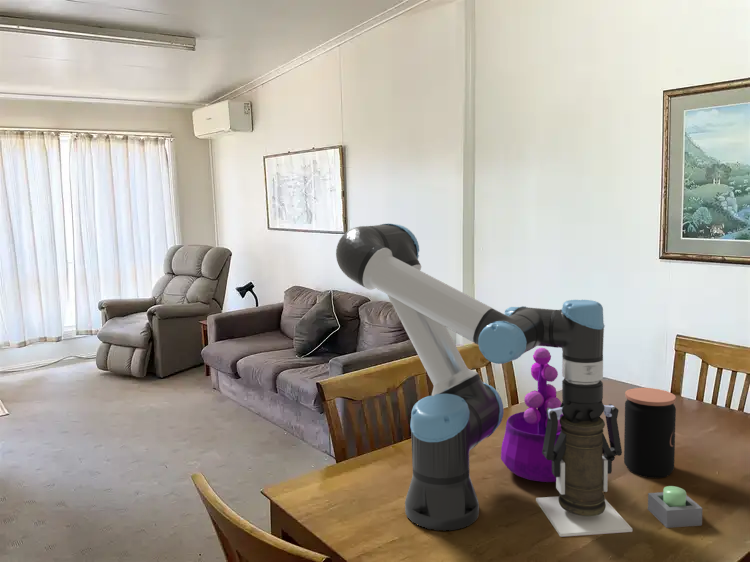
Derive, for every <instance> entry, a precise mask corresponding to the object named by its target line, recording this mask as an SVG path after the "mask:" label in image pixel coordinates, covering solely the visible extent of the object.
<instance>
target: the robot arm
mask: <svg viewBox="0 0 750 562" xmlns="http://www.w3.org/2000/svg"><path fill="white" fill-rule="evenodd" d="M419 253H420V245H419V241H418V240H417V237H416V236H415V234H414V233H413V232H412V231H411V230H410V229H409V228H407V227H406V226H404V225H401V224H396V223H395V224H394V223H383V224H378V225H377V224H376V225H366V226H365V225H362V226H361V225H360V226H355V227H353V228H350V229H349V230H347V231H346V232H345V233H343V235H342V236H341V238H340V239H339V240H338V242H337V245H336V250H335V258H336V262H337V264H338V267H339V269H340V270H341V272H342V273H343V274H344V275H345V276H346V277H347V278H348V279H350V280H352V281H353V282H354V283H356V284H358V285H359V286H361V287H363V288H365V289H366V290H370V291H371V290H374V289H376V290H377V291H380V292H382V293H384V294H385V295H387V298H388V299H389V301H390V303H391V305H392V307H393V310H394V311H395V313H396V314H397V317H398V318H399V321H400V322H401V324H402V326H403V328H404V330H405V332H406V334H407V337H408V338H409V340H410V341H411V344H412V345H413V348H414V349H415V351H416V354H417V356H418V358H419V359H420V362H421V364H422V366H423V367H424V370H425V372H426V374H427V375H428V377H429V380H430V381H431V383H432V385H433V388H432V392H431V395H427V396H425V397H422V398H420V399H419V400H418V401H416V403H414V405H413V407H412V409H411V412H410V413H411V414H410V417H411V418H410V425H409V426H410V432H411V434H410V435H411V436H410V437H411V438H410V439H411V460H412V461H411V462H412V465H411V466H412V477H411V480H410V483H409V487H408V490H407V493H406V497H405V501H404V507H405V508H404V509H405V510H404V511H405V515H407V516H406V517H407V519H408V518H409V519H410V520H411V521H412V522H411V521H410V520H409V521H410V522H411V523H413V522H414V523H416V524H418V525H419V526H418V525H417V526H418V527H420V526H422V527H421V528H423V527H425V528H424V529H426V528H427V529H426V530H431V529H434V530H433V531H439V530H443V531H444V532H445V531H446V530H449V531H456V530H460V528H461V529H464V528H466V526H467V527H468V526H471V525H472V524H473V523H475V522H476V521H477V520H478V518H479V515H480V504H479V500H478V497H477V496H478V495H477V493H476V491H475V487H474V485H473V482H472V479H471V473H470V451H471V450H472V449H474V448H475V447H476V446H477V445H478V444H480V443H482V442H483V441H484V440H485V439H487V438H489V437H491V436H492V435H493V434H494V433H495V432H496V430H497V429H498V427H499V426H500V424H501V423H502V420H503V417H504V403H503V398H501V396H500V393H499V392H498V391H497V389H495V388H494V387H493V386H492V385H489V384H488V383H486V382H484V381H483V380H482V378H481V377H480V375H479V373H478V372H477V371H474V370H473V369H470V368H468V366H467V365H466V363H465V361H464V359H463V356H462V355H461V353H460V351H459V349H458V348H457V345H456V343H455V342H454V340H453V338H452V336H451V334H450V332H449V330H451V331H452V332H454V333H456V334H458V335H459V336H462V337H463V338H465V339H466V340H469V341H471V342H472V343H474V344H475V345H478V349H479V351H480V353H481V354H482V355H483V357H484V358H485V359H486V360H487V361H488V362H491V363H493V364H498V365H502V364H503V365H504V364H506V363H507V364H508V363H509V362H513V361H515V360H517V359H519V358H521V356H522V355H524V354H525V353H527V352H529V351H531V350H532V349H534V348H536V347H548V348H549V347H550V348H560V349H561V350H562V353H561V354H562V356H561V357H562V362H561V363H562V365H561V367H562V369H561V371H562V372H561V376H562V378H563V379H562V381H561V382H562V383H561V384H562V385H561V387H562V388H561V389H562V392H561V394H562V395H561V397H562V402H561V403H562V404H561V406H560V407H559V408H555V409H551V408H547V410H546V412H547V417H548V421H547V427H546V433H545V439H544V445H543V450H542V454H543V455H544V456H545V457H546V459H547V460H552V473H553V475H554V476H555V477H556V482H555V489H556V490H557V491H558V493H559V492H560V494H561V495H563V494H565V462H564V461H563V460H562V457H563V455H564V453H565V451H566V436H567V435H566V434H564V433H563V432H562V430H561V432H560V435H559V437H558V439H557V442H556V444H555V439H556V433H557V428H558V420H559V419H560V415H561V414H563V415H564V416H565V417H566V419H567V420H568V421H570V422H572V423H579V422H581V421H592V422H597V421H598V418H599V417H601V416H602V414H604V416H605V421H606V423H605V424H606V428H607V434H608V441H609V444H608V441H607V439H606V437H605V434H604V433H603V434H602V440H603V445H602V450H603V454H602V455H603V457H602V480H603V493H604V492H605V493H607V492H608V479H609V475H610V474H612V470H613V462H614V461H615V459H616V457H617V456H619V457H620V456H622V454H623V451H622V444H621V437H620V430H619V425H618V417H619V416H618V415H619V409H618V408H617V407H616V406H614V405H613V404H612V403H609V404H608V405H605V404H604V403H603V399H604V382H603V381H602V380H603V378H604V337H605V336H604V334H605V333H604V332H605V323H604V322H605V321H604V308H603V307H604V306H603V305H602V304H601V303H600V302H599V301H596V300H592V299H571V300H570V299H569V300H566V301H564V302H563V303H562V308H561V309H551V308H537V307H527V306H523V305H522V306H509V307H508V308H506V309H505V310H504V313H502V312H500V310H499V311H498V310H497V309H495V308H493V307H491V306H489V305H487V304H486V303H484V302H481V301H480V300H479V299H478V300H477V299H476V298H473V297H472V296H470V295H468V294H467V293H464V292H463V291H460V290H458V289H457V288H455V287H452V286H450V285H449V284H447V283H444V282H442V281H441V280H439V279H437V278H436V277H434V276H431V275H429V274H428V273H426V272H424V271H422V270H421V269H422V265H421V263H420V261H419V257H420V255H419ZM554 445H555V446H554ZM608 474H609V475H608ZM560 494H559V495H560ZM414 523H413V524H414ZM416 524H415V525H416Z"/></svg>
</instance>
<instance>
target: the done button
mask: <svg viewBox="0 0 750 562" xmlns="http://www.w3.org/2000/svg"><path fill="white" fill-rule="evenodd" d="M662 492H663V501H664V502H665V503H666V504H667V505H668V506H669V507H678V506H686V495H687V492H686V490H685V489H684V488H681V487H679V486H674V485H668V486H664V487H663V490H662Z"/></svg>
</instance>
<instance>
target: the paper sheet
mask: <svg viewBox="0 0 750 562" xmlns="http://www.w3.org/2000/svg"><path fill="white" fill-rule="evenodd" d="M604 501H605V504H606V507H605V510H604V512H603V513H601V514H600V515H597V516H580V515H576V514H572V513H570V512H568V511H566V510H564V509H563V508H562V507H561V506H560V504H559V496H547V497H545V496H542V497H536V498H535V502H536V504H537V505H538V506H539V507H540V508H541V511H542V512H543V513H544V515H545V516H546V518H547V519H548V521H549V522H550V523H551V525H552V526H553V528H554V530H555V531H556V532H557V534H558V536H559V537H574V536H575V537H576V536H577V537H578V536H592V535H603V534H619V533H632V532H633V527H631V525H629V523H628V522H627V521H626V520H625V518H623V517H622V516H621V515H620V513H619V512H618V511H617V510H616V509H615V507H613V506H612V505H611V503H609V502H608V500H607V499H606V498H605V500H604Z"/></svg>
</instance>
